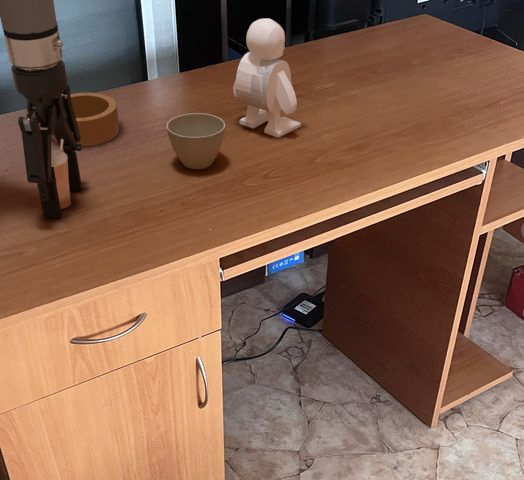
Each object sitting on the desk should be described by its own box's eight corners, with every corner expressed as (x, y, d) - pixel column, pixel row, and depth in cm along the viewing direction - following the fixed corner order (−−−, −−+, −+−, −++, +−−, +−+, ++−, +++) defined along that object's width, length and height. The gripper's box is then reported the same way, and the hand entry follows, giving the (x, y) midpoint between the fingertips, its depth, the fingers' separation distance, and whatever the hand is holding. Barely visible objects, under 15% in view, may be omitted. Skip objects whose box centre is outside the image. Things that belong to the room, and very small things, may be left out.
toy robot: (309, 128, 149) (313, 20, 136) (280, 145, 144) (282, 33, 131) (252, 109, 156) (252, 4, 143) (223, 124, 151) (219, 16, 138)
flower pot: (225, 176, 135) (224, 137, 130) (167, 176, 135) (164, 137, 130) (226, 150, 142) (225, 112, 138) (171, 150, 142) (168, 112, 138)
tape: (39, 143, 144) (34, 117, 141) (65, 115, 154) (61, 90, 150) (105, 150, 142) (102, 123, 139) (128, 120, 152) (125, 95, 149)
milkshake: (83, 198, 129) (74, 141, 122) (64, 213, 125) (53, 155, 119) (60, 192, 130) (50, 136, 124) (40, 207, 126) (29, 150, 120)
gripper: (31, 92, 104) (60, 238, 119) (88, 39, 120) (107, 173, 135) (-21, 88, 105) (14, 233, 120) (41, 36, 121) (66, 170, 136)
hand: (63, 201), depth 127 cm, fingers open, 8 cm apart
